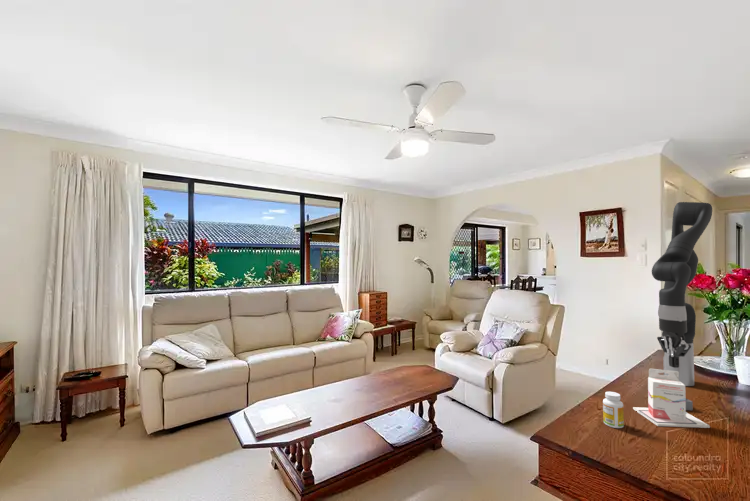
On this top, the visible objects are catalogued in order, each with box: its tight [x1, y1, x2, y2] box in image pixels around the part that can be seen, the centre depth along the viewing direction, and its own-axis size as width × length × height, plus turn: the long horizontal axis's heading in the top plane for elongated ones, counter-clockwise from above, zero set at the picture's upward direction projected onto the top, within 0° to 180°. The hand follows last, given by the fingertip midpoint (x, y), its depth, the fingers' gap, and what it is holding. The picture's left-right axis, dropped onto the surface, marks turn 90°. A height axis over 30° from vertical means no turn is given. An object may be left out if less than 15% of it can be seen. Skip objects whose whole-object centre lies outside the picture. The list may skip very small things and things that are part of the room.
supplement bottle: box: [602, 391, 625, 429], centre depth 110 cm, size 5×5×10 cm
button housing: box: [686, 398, 694, 411], centre depth 123 cm, size 7×7×3 cm
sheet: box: [632, 406, 711, 429], centre depth 113 cm, size 12×15×1 cm
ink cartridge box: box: [647, 368, 687, 422], centre depth 113 cm, size 9×5×15 cm, turn 67°
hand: (674, 366), depth 122 cm, fingers closed
